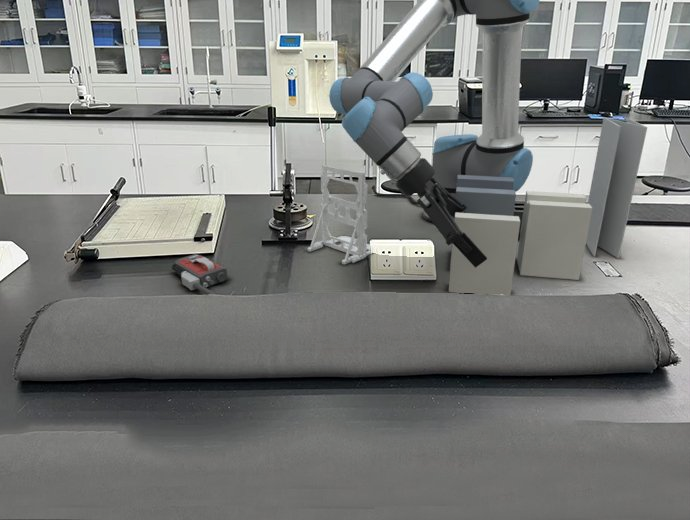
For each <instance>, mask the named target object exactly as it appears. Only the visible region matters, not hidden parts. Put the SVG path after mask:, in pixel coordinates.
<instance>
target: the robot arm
mask: <svg viewBox="0 0 690 520" xmlns="http://www.w3.org/2000/svg"><path fill="white" fill-rule="evenodd" d="M540 2H541V0H416V4H415V5H413V7H412V8H411V9H410V10H409V12H408V13H406V15H405V16H404V17H403V18H402V20H401V21H400V22H399V23H398V24H397V25H396V26H395V28H393V29H392V30H391V32H390V33H389V34H388V35H387V37H386V38H385V39H384V40H383V41H381V43H380V45H379V46H377V48H376V49H375V50H374V51H373V52H372V54H370V56H369V57H368V58H367V59H366V60H365V61H364V62H363V63H362V65H361V66H360V67H359V68H358V69H357V70H356V71H355V73H354V74H352V76H351V77H347V76H346V77H340V78H338V79H335V81H334V82H333V83H332V85H331V86H330V89H329V104H330V105H331V107H332V109H333V110H334V111H335V112H336V113H338V114H340V115H344V117H343V118H342V120H341V126H342V128H343V129H344V131H345V132H346V133H347V135H348V136H349V137H350V139H352V141H353V142H354V143H355V144H356V145H358V147H359V148H360V149H361V150H362V151H363V152H364V153H365V154H366V155H367V156H368V157H369V159H371V161H372V162H373V163H374V164H375V165H376V166H377V167H378V168H379V169H380V171H379V172H380V174H381V175H386V177H387V178H388V179H389V181H391V182H393V181H395V183H394V186H395V187H396V188H397V189H398V190H399V191H400V192H401V193H381V192H378V191H377V190H376V185H373V184H372V186H371V190H372V192H373V194H375V195H376V196H378V197H387V198H388V197H389V198H390V197H401V198H407V199H409V200H410V202H411V203H412V204H414V205H419V206H420V207H421V209H423V210H422V217H423V219H425V220H427V221H428V222H431V223H433V224H434V226H435V227H436V229H437V230H438V232H439V233H440V234H441V236H442V237H443V239H444V240H445V244H446V245H447V246H450V245H452V243H453V244H454V245H455V246H456V247H457V248H458V249H459V251H460V252H461V253H462V254H463V255H464V256H465V257H466V258H467V259H468V260H469V261H470V263H471V264H472V265H473V266H474V267H475V268H476V267H477V266H479V265H480V264H481V263H483V262H484V261H485V260H487V257H486V256H485V255H484V254H483V253H482V252H481V250H480V249H479V248H478V247H477V246H476V245H475V244H474V243H473V242H472V241H471V239H470V238H469V237H468V236H467V235H466V234H465V233H464V232H463V233H462V232H461V231H460V229H459V227H458V226H457V224H456V223H455V221H454V218H455V213H466V212H465V211H464V210H465V209H466V208H467V207H466V206H465V204H463V205H462V204H461V202H459V201H458V200H457V199H456V188H457V176H458V175H471V176H492V177H512V178H513V180H514V186H513V190H515V193H516V192H518V191H519V190H521V188H523V186H524V185H525V183H527V182H526V181H527V180H528V178H529V176H530V173H531V171H532V167H533V162H534V155H533V152H532V151H531V150H530V149H529V148H527V147H525V137H524V136H523V135H522V134H521V133H520V132H519V118H520V117H519V115H520V92H521V91H520V90H521V89H520V88H521V87H520V86H521V64H522V63H521V61H522V41H523V40H522V36H523V28H524V27H525V26H526V24H527V23H528V22H529V21H530V15H531V14H530V13H533V12H534V11H535V10H536V9H537V8H538V7H539V4H540ZM466 15H471V16H475V26H476V27H477V28H478V29H479V30H480V31H481V32H482V67H481V68H482V69H481V71H482V82H481V84H482V86H481V87H482V88H481V90H482V92H481V93H482V94H481V96H482V99H481V105H482V106H481V116H482V117H481V134H480V135H479V136H478V135H477V134H472V133H471V134H466V133H465V134H453V135H445V136H440V137H438V138H437V139H436V140H434V144H433V150H432V165H431V163H430V162H429V161H428V160H427V159H426V158H425V157H421V156H422V153H421V152H420V151H419V150H418V149H417V148H416V146H415V145H414V144H413V143H412V142H411V141H410V139H408V137H406V136H405V134H404V133H403V131H404V130H405V129H406V128H407V127H408V126H409V125H410V124H411V123H413V121H414V120H415V119H417V118H418V117H419V116H420V115H422V114H423V112H424V111H425V109H427V107H428V106H429V105H430V103H431V102H432V100H433V96H434V93H433V88H432V85H431V82H430V81H429V80H428V79H427V78H426V77H425V76H424V75H422V74H420V73H418V72H413V71H412V72H409V73H407V74H405V75H404V76H401V74H402V73H403V72H404V71H405V70H406V69H407V67H408V66H409V65H410V64H411V63H412V61H413V60H414V59H415V58H416V57H417V56H418V55H419V53H420V52H421V51H422V50H423V48H424V47H425V46H426V45H427V44H428V43H429V42H430V40H431V39H432V38H433V37H434V36H435V34H436V33H437V32H438V31H439V30H440V28H443V27H447V26H448V25H450V24H451V23H452V21H454V19H456V18H458V17H462V16H466ZM400 76H401V77H400ZM399 77H400V78H399ZM398 78H399V80H398V81H397V79H398ZM414 194H417V196H418V197H419V199H417V200H414V198H413V197H412V196H413V195H414ZM463 211H464V212H463Z"/></svg>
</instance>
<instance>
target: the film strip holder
mask: <svg viewBox="0 0 690 520" xmlns="http://www.w3.org/2000/svg"><path fill="white" fill-rule="evenodd" d="M328 172H332V174H331V175H332V176H331V175H328ZM335 174H339V176H340V177H335ZM344 176H348V177H349V179H344ZM353 177H354V178H358V180H357V182H356V181H353ZM330 180H333V181H337V182H342V183H345V184H349V185H354V187H355V190H356V193H357V197H356V199H355V202H354V201H349V200H346V199H343V198H338V197H335V196H331V195H330V192H329V188H328V185H329V183H330ZM368 187H369V184H368V183H366V173H365V172H357V171H353V170H349V169H344V168H339V167H334V166H329V165H326V164H321V173H320V192H321V193H322V194H321V195H322V197H321V198H320V203H321V204H320V210H321V211H320V215H319V217H318V221H317V224H316V227H315V230H314V233H313V236H312V239H311V243H310V245H309V246H308V247H307V249H306V250H307V252H309V253H311V252H314V251H316V250H319V249H322V248H324V246H327V247H329V248H332V249H334V250H337V251H341V252H343V253H345V256H344V259H342V260H341V264H342V265H344V266H345V265H348V264H350V263H352V264H354V263H357V262H359V261H361V260H364V259H366V257H368V256H370V255H371V254H370V244H371V243H368V235H367V234H366V232H365V231H366V230H367V229H368V209H366V205H367V204H368V196H369V195H368V194H369V193H368V191H369V188H368ZM330 204H333V206H334V209H333V211H334V213H332V212H330ZM340 207H343V208H344V211H345V212H344V213H345V214H344V215H340V214H341V213H340ZM351 210H353V211H355V213H356V214H355V219H353V218H351ZM330 221H334V222H337V223H340V224H343V225H347V226H350V227H353V228H354V229H353V233H352V234H351V236H347V235H346V236H344V235H341V236H338V237H336V236H332V235H331V233H330V230H329V227H328V226H329V224H330ZM320 226H321V239H322V240H320V241H316V239H317V235H318V233H319V229H320ZM356 236H357V238H356ZM339 242H340V244H336V243H339Z"/></svg>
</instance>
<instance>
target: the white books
mask: <svg viewBox="0 0 690 520" xmlns="http://www.w3.org/2000/svg"><path fill="white" fill-rule="evenodd" d="M587 201H588V197H587V196H586V195H585V194H584V193H572V192H568V193H567V192H554V191H553V192H551V191H533V190H532V191H531V190H530V191H529V190H526V191H525V197H524V204H523V211H522V212H523V218H522V226H521V233H520V240H518V247H517V248H518V249H517V254H516V255H517V257H516V261H517V266H518V267H517V268H518V271H519V276H525V277H526V276H527V277H537V278H550V279H561V280H562V279H563V280H574V281H579V280H580V277H581V270H582V266H583V262H584V261H583V260H584V255H585V250H586V246H587V244H586V240H587V234H588V229H589V224H590V218H591V213H592V207H591V205H590V204H588V203H587Z"/></svg>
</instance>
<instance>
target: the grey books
mask: <svg viewBox="0 0 690 520" xmlns="http://www.w3.org/2000/svg"><path fill="white" fill-rule="evenodd" d="M513 186H514V180H513V178H512V177H492V176H471V175H458V176H457V188H456V199H457V200H458V201H459V202H461V204H462V205H463V204H465V206H466V207H467V208H466V209H465V210H464V211H465V212H466V213H472V214H488V215H504V216H513V214H514V212H515V205H516V199H517V193H516V192H515V190H513ZM464 211H463V212H464ZM454 221H455V218H454ZM452 245H453V243H452V244H451V246H452ZM451 257H452V247H451V249H450V258H451ZM450 269H451V259H450V261H449V270H450Z"/></svg>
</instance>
